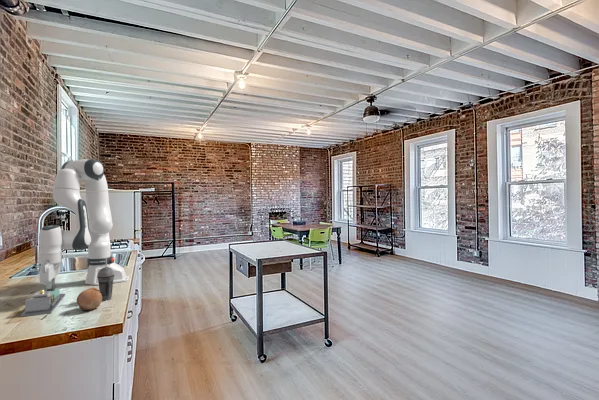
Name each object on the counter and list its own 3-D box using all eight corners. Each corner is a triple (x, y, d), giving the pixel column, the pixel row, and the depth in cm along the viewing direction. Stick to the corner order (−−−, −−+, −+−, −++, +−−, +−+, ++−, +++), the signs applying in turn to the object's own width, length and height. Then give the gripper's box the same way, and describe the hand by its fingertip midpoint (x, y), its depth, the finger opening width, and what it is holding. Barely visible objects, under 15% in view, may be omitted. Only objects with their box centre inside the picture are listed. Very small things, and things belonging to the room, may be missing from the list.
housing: (47, 307, 137) (47, 291, 137) (32, 309, 135) (32, 292, 135) (50, 303, 141) (50, 288, 141) (36, 305, 139) (36, 289, 139)
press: (65, 295, 156) (65, 283, 156) (50, 313, 133) (50, 299, 133) (39, 298, 152) (39, 286, 152) (20, 317, 129) (20, 302, 128)
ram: (59, 294, 154) (59, 278, 154) (53, 301, 145) (53, 284, 144) (44, 296, 151) (44, 280, 151) (37, 303, 142) (37, 285, 142)
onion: (94, 312, 142) (101, 290, 146) (101, 311, 136) (108, 288, 141) (70, 310, 136) (78, 286, 140) (76, 309, 130) (85, 284, 134)
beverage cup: (96, 302, 146) (96, 260, 146) (97, 298, 153) (97, 257, 153) (114, 300, 150) (114, 259, 149) (115, 296, 156) (115, 256, 156)
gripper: (52, 262, 143) (52, 292, 143) (63, 254, 161) (63, 281, 161) (35, 263, 140) (35, 294, 140) (48, 255, 158) (48, 282, 159)
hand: (50, 287), depth 151 cm, fingers closed on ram, 3 cm apart
